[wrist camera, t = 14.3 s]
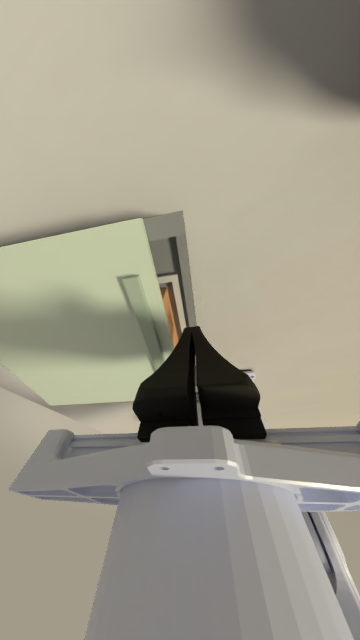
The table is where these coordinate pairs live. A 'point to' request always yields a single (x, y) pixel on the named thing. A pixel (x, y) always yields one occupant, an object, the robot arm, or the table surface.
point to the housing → (172, 271)
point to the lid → (83, 314)
